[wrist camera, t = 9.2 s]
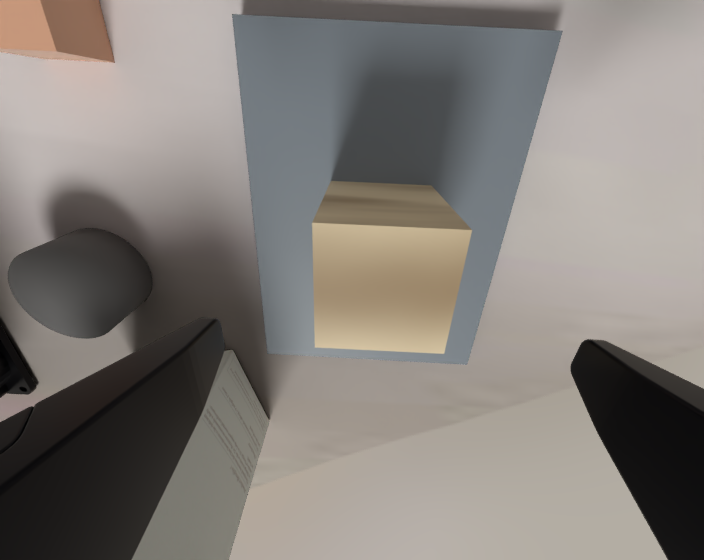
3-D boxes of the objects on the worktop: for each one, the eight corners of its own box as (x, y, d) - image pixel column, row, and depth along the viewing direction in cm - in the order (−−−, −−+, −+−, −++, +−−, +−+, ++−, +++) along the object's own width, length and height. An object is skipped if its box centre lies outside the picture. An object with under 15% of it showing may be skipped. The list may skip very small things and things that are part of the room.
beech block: (417, 274, 16) (444, 353, 11) (330, 270, 16) (314, 347, 11) (431, 185, 14) (472, 230, 9) (331, 181, 14) (311, 222, 9)
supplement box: (131, 362, 21) (-124, 641, 10) (235, 346, 20) (81, 634, 9) (181, 433, 25) (31, 702, 13) (272, 423, 24) (192, 701, 13)
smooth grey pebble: (162, 309, 19) (130, 341, 17) (80, 304, 19) (34, 335, 17) (140, 230, 17) (98, 252, 14) (46, 225, 17) (-13, 246, 14)
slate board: (462, 353, 20) (467, 364, 19) (271, 342, 20) (267, 353, 19) (548, 36, 12) (562, 30, 12) (241, 21, 12) (232, 14, 12)
